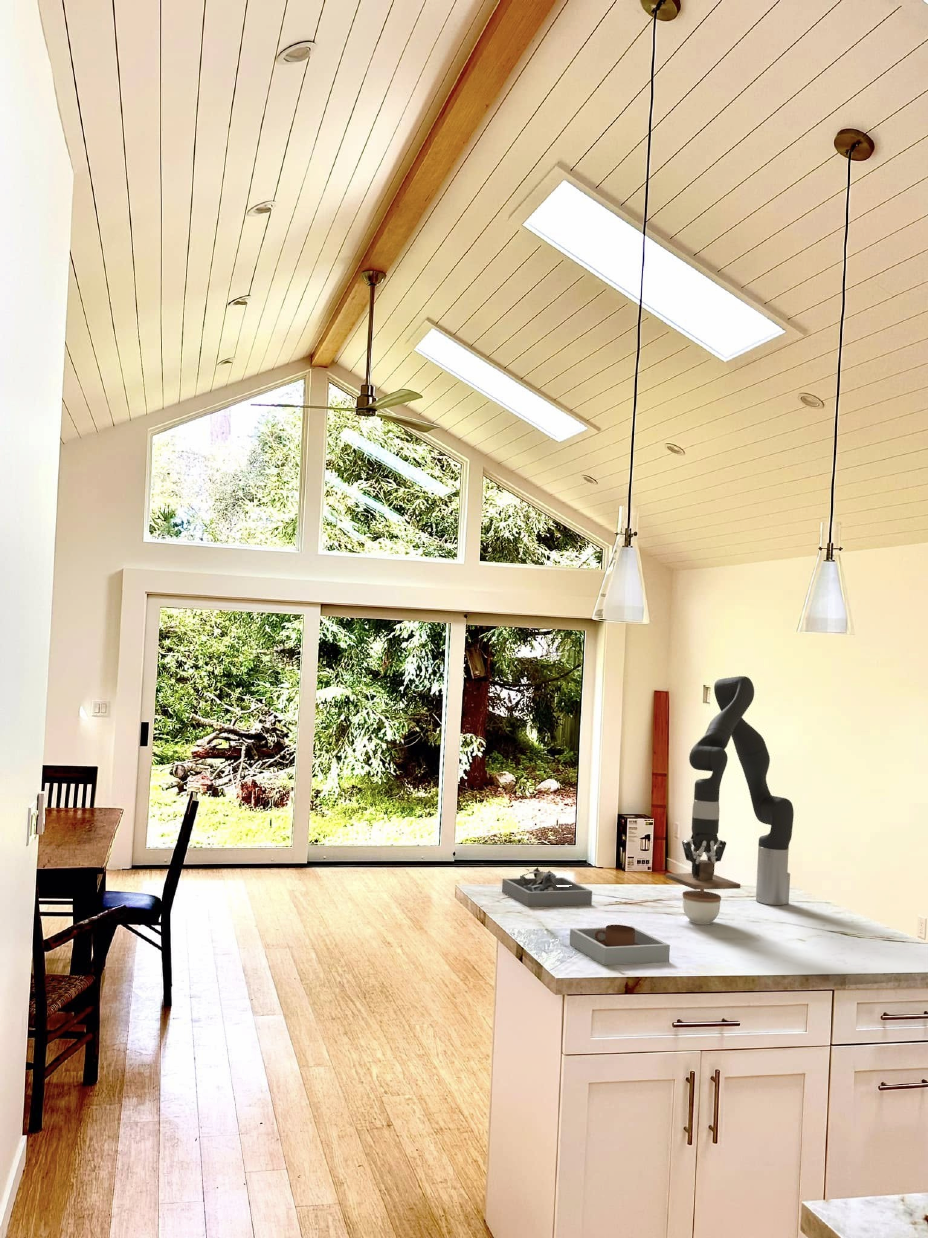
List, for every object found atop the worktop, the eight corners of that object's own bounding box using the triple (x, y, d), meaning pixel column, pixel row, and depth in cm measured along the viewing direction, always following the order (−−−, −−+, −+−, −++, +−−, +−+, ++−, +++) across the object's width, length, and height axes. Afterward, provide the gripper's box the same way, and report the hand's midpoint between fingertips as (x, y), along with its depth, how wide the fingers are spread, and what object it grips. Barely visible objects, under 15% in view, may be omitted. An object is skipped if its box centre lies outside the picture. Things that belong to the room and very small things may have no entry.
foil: (503, 884, 318) (539, 855, 325) (518, 913, 320) (554, 883, 327) (523, 890, 308) (560, 860, 314) (539, 920, 310) (575, 890, 316)
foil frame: (562, 890, 329) (563, 877, 329) (591, 904, 311) (592, 891, 311) (501, 891, 321) (502, 878, 321) (527, 906, 303) (528, 892, 304)
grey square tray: (631, 941, 271) (632, 926, 271) (669, 961, 254) (669, 945, 254) (569, 944, 264) (570, 928, 264) (603, 965, 248) (604, 948, 248)
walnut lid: (709, 877, 307) (710, 855, 308) (740, 888, 293) (741, 866, 294) (665, 877, 302) (666, 856, 302) (694, 889, 288) (696, 867, 288)
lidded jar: (673, 920, 298) (675, 887, 298) (696, 915, 305) (698, 883, 305) (704, 928, 290) (706, 894, 290) (727, 924, 297) (729, 890, 297)
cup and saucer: (604, 960, 253) (605, 934, 253) (588, 946, 264) (589, 922, 265) (650, 960, 255) (652, 935, 255) (633, 946, 267) (634, 922, 267)
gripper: (718, 814, 305) (715, 873, 304) (677, 814, 299) (674, 874, 299) (734, 818, 298) (731, 879, 297) (691, 818, 292) (688, 880, 292)
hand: (702, 876), depth 298 cm, fingers closed on walnut lid, 4 cm apart
